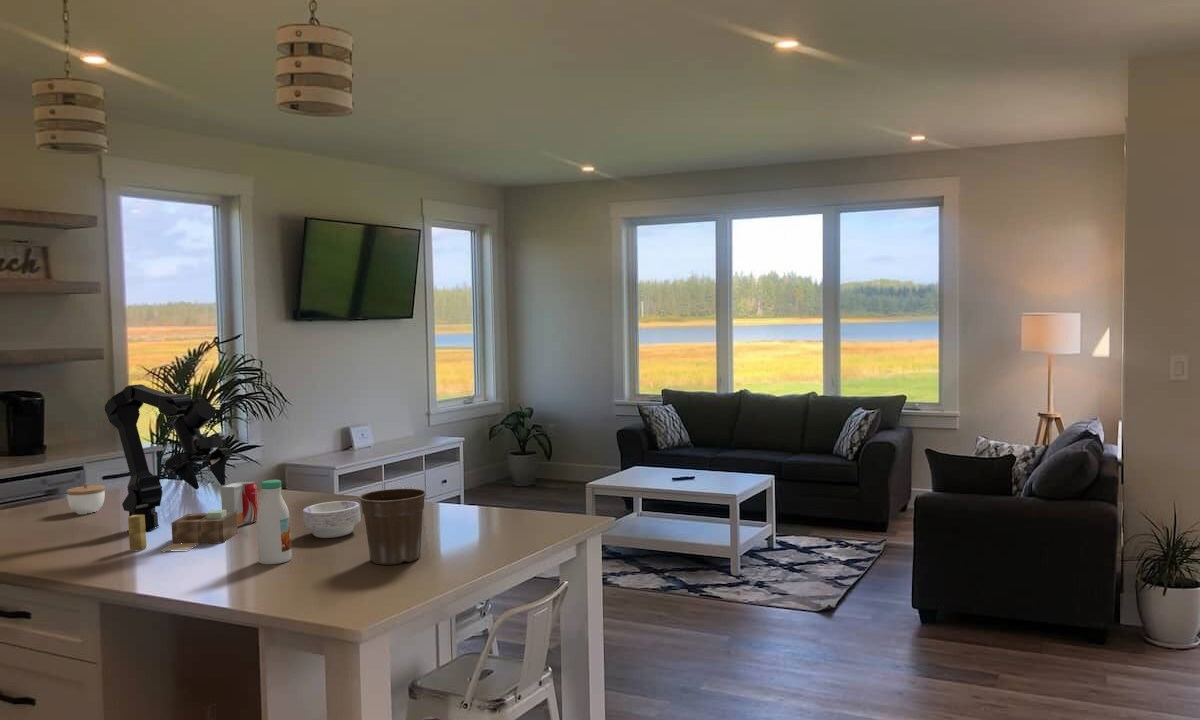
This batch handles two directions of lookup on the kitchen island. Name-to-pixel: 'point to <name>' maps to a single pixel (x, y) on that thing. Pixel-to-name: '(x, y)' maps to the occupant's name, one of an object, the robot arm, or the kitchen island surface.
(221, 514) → the on button
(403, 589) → the kitchen island surface
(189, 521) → the block
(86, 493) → the lidded jar
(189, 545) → the pad
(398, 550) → the plant pot
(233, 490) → the skincare box
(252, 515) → the soda can
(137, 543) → the square wooden peg
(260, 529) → the milk bottle
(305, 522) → the paper bowls
